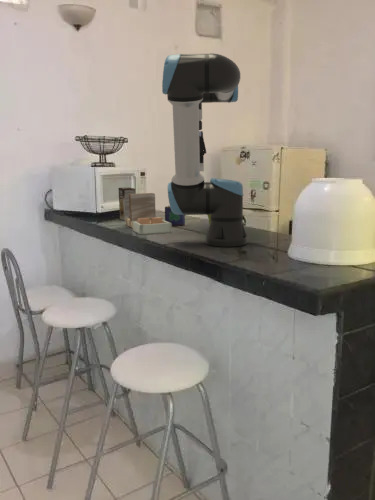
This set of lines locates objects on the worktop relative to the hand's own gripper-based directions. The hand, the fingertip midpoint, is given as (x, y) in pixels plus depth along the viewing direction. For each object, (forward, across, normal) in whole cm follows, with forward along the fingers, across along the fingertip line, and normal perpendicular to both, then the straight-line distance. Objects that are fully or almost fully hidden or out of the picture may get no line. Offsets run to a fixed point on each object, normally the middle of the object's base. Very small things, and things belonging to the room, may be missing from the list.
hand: (193, 171), depth 199 cm
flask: (+25, -12, -4) cm, 28 cm away
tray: (+25, 0, -20) cm, 32 cm away
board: (+25, -16, -19) cm, 35 cm away
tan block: (+22, -16, -19) cm, 33 cm away
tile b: (+22, -4, -22) cm, 32 cm away
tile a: (+22, -4, -16) cm, 28 cm away
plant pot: (+25, +12, +5) cm, 28 cm away
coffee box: (+25, -42, -18) cm, 52 cm away
